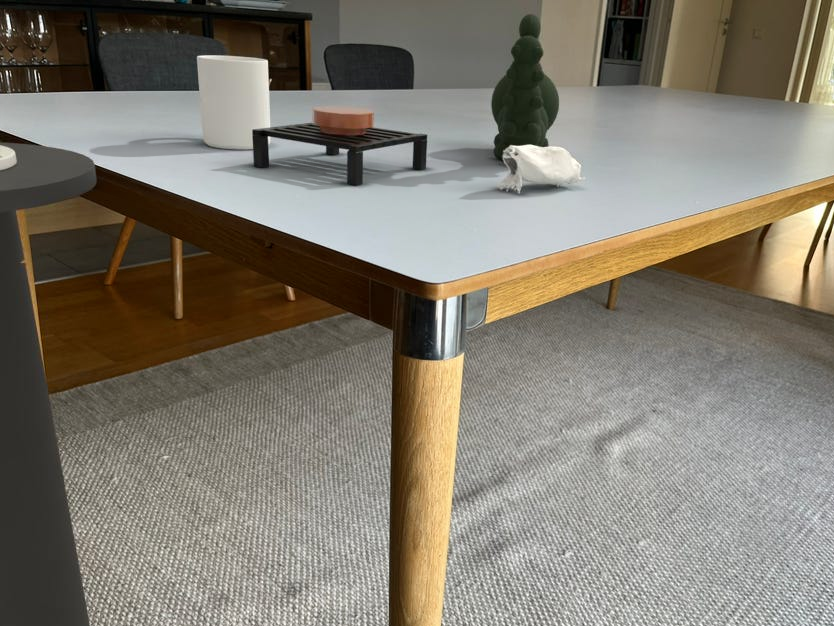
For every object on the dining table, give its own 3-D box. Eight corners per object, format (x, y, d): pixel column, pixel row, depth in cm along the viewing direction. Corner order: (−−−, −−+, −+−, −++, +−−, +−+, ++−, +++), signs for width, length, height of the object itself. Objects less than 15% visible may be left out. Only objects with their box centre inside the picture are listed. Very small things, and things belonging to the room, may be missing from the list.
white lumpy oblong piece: (537, 210, 81) (592, 178, 87) (524, 146, 78) (581, 118, 84) (503, 209, 84) (558, 179, 90) (489, 148, 81) (546, 121, 87)
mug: (181, 136, 100) (174, 52, 96) (241, 134, 105) (237, 54, 101) (219, 151, 92) (213, 60, 88) (282, 148, 97) (279, 61, 93)
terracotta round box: (349, 138, 83) (349, 115, 82) (300, 130, 85) (299, 108, 84) (385, 133, 88) (385, 111, 87) (337, 125, 91) (337, 104, 90)
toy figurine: (553, 187, 95) (553, 141, 116) (572, 21, 85) (568, 4, 107) (478, 181, 95) (492, 136, 117) (488, 15, 86) (501, -1, 108)
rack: (356, 185, 80) (356, 146, 78) (253, 166, 85) (251, 129, 84) (426, 168, 91) (427, 134, 90) (331, 152, 97) (331, 120, 95)
